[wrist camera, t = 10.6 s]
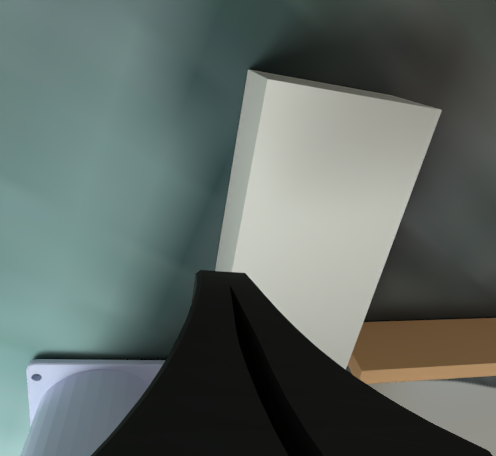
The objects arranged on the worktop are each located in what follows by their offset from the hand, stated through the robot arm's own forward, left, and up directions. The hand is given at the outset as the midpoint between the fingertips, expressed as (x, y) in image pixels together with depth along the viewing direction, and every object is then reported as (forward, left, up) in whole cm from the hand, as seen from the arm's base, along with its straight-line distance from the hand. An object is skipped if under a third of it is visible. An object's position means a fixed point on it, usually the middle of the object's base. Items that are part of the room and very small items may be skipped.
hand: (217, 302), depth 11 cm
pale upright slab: (-2, -5, -9) cm, 11 cm away
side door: (-8, -16, -9) cm, 20 cm away
